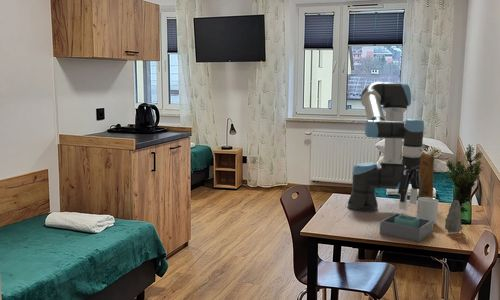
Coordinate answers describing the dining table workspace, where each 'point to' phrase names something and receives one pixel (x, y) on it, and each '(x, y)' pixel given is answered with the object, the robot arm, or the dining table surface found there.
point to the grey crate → (406, 229)
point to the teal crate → (407, 220)
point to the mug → (427, 208)
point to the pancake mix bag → (426, 176)
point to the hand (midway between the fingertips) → (407, 206)
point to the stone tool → (454, 218)
